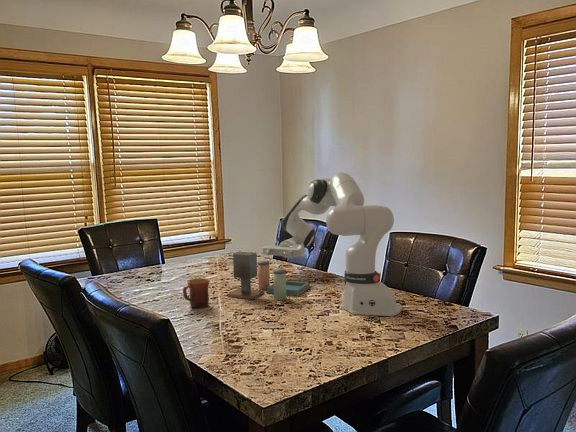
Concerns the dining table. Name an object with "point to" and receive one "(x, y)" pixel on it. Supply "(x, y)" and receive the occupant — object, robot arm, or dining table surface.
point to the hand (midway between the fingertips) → (275, 254)
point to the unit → (245, 275)
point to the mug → (197, 292)
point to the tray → (291, 287)
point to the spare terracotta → (263, 274)
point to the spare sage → (279, 284)
